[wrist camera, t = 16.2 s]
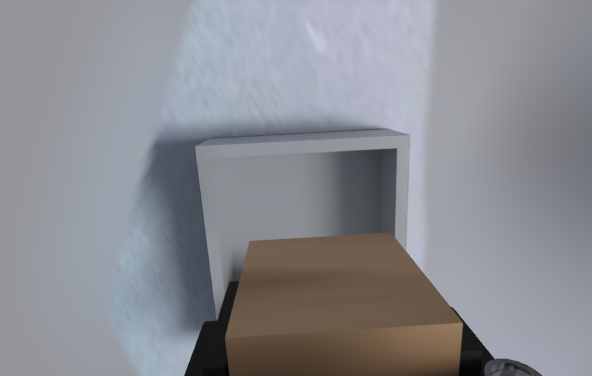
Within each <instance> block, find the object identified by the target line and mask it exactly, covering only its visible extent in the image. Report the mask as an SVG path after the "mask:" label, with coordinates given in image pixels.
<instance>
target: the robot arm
mask: <svg viewBox="0 0 592 376" xmlns="http://www.w3.org/2000/svg"><path fill="white" fill-rule="evenodd" d="M238 284H239V281H229V283H228V287H227V290H226V293H225V296H224V300H223V303H222V306H221V309H220V313H219V316H218V319H217V321H206V322H204V324H203V326H202V329H201V331H200V334H199V337H198V340H197V342H196V345H195V348H194V351H193V353H192V356H191V359H190V362H189V364H188V367H187V370H186V373H185V375H184V376H230V375H229V367H228V359H227V351H226V343H225V336H226V332H227V328H228V324H229V320H230V316H231V312H232V308H233V304H234V300H235V296H236V292H237V288H238ZM451 308H452V307H451ZM452 310H453V311H454V312H455V313H456V315H457V316H458V317H459V318H460V320H461V321H462V322H463V329H462V341H461V352H460V364H459V375H458V376H542V375H541V374H540V373H539V372H537V371H536V370H534V369H533V368H531V367H530V366H528V365H526V364H523V363H521V362H518V361H515V360H510V359H494V358H493V356H492V355H491V354H490V353H489V351H488V350H487V349H486V348H485V346H484V345H483V344H482V343H481V342H480V340H479V339H478V338H477V337H476V335H475V334H474V333H473V332H472V330H471V329H470V328H469V327H468V325H467V324H466V323H465V322H464V320H463V319H462V318H461V317H460V316H459V314H458V313H457V312H456V311H455V310H454V309H453V308H452Z"/></svg>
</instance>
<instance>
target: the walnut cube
mask: <svg viewBox="0 0 592 376" xmlns="http://www.w3.org/2000/svg"><path fill="white" fill-rule="evenodd" d="M462 329H463V322H462V321H461V320H460V318H459V317H458V316H457V315H456V313H455V312H454V311H453V310H452V308H451V307H450V306H449V305H448V303H447V302H446V301H445V300H444V298H443V297H442V296H441V295H440V293H439V292H438V291H437V290H436V288H435V287H434V286H433V284H432V283H431V282H430V281H429V279H428V278H427V277H426V276H425V274H424V273H423V272H422V271H421V269H420V268H419V267H418V266H417V264H416V263H415V262H414V261H413V259H412V258H411V257H410V256H409V254H408V253H407V252H406V251H405V249H404V248H403V247H402V246H401V244H400V243H399V242H398V241H397V239H396V238H395V237H394V236H393V234H392V233H375V234H358V235H341V236H324V237H307V238H291V239H274V240H257V241H249V245H248V249H247V253H246V257H245V261H244V265H243V269H242V272H241V276H240V280H239V284H238V288H237V292H236V296H235V300H234V304H233V308H232V312H231V316H230V320H229V324H228V328H227V332H226V336H225V343H226V351H227V359H228V367H229V375H230V376H458V375H459V364H460V352H461V341H462Z"/></svg>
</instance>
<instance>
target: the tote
mask: <svg viewBox="0 0 592 376" xmlns="http://www.w3.org/2000/svg"><path fill="white" fill-rule="evenodd" d="M195 151H196V159H197V167H198V175H199V184H200V192H201V200H202V208H203V216H204V224H205V232H206V240H207V248H208V256H209V264H210V272H211V280H212V288H213V296H214V304H215V312H216V320H217V319H218V316H219V313H220V309H221V306H222V303H223V300H224V296H225V293H226V290H227V287H228V283H229V281H239V280H240V276H241V272H242V269H243V265H244V261H245V257H246V253H247V249H248V245H249V241H257V240H274V239H291V238H307V237H324V236H341V235H358V234H375V233H392V234H393V236H394V237H395V238H396V239H397V241H398V242H399V243H400V244H401V246H402V247H403V248H404V249H405V251H406V238H407V209H408V181H409V152H410V135H408V134H405V133H401V132H397V131H394V130H390V129H372V130H353V131H334V132H315V133H296V134H278V135H259V136H240V137H221V138H211V139H209V140H207V141H205V142H203V143H201V144H199V145H197V146H195Z"/></svg>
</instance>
